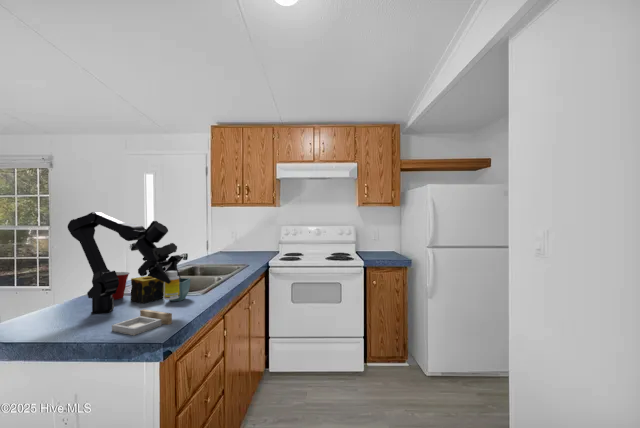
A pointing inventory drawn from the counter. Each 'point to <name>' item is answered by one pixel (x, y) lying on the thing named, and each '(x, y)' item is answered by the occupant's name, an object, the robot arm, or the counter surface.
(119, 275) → the plastic cup
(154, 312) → the oak sill
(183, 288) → the flower pot
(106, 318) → the counter surface
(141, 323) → the square tray
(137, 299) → the yellow and black cube
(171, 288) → the supplement bottle
